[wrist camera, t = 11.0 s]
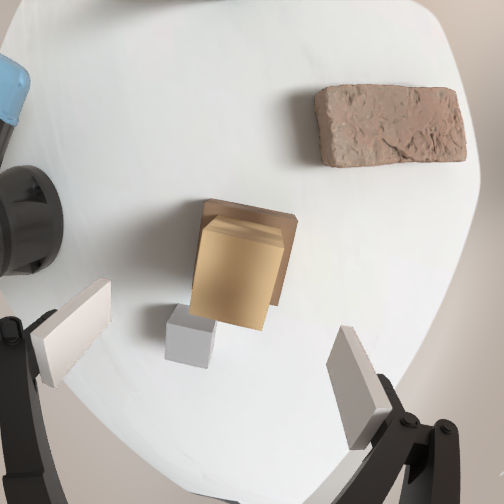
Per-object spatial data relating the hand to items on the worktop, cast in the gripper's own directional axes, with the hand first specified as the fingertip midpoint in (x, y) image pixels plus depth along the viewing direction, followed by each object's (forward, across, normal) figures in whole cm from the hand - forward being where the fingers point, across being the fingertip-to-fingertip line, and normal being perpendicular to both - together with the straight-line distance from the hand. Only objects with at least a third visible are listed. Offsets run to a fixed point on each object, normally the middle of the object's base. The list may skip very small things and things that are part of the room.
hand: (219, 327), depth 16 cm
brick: (+18, +13, +16) cm, 28 cm away
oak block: (+14, 0, 0) cm, 14 cm away
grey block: (+18, -4, -11) cm, 21 cm away
